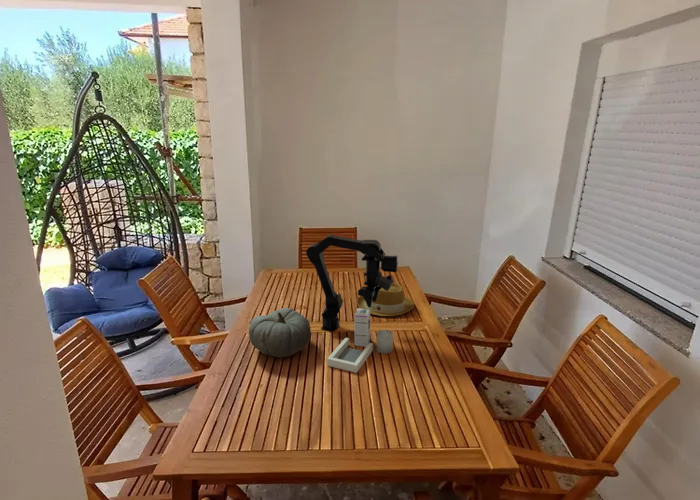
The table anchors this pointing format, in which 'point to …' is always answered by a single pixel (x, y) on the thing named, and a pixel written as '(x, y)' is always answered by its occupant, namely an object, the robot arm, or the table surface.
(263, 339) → the gourd
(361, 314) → the syrup box
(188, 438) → the table surface
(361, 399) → the table surface
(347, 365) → the cradle
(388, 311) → the fedora
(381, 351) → the grey rounded dome
